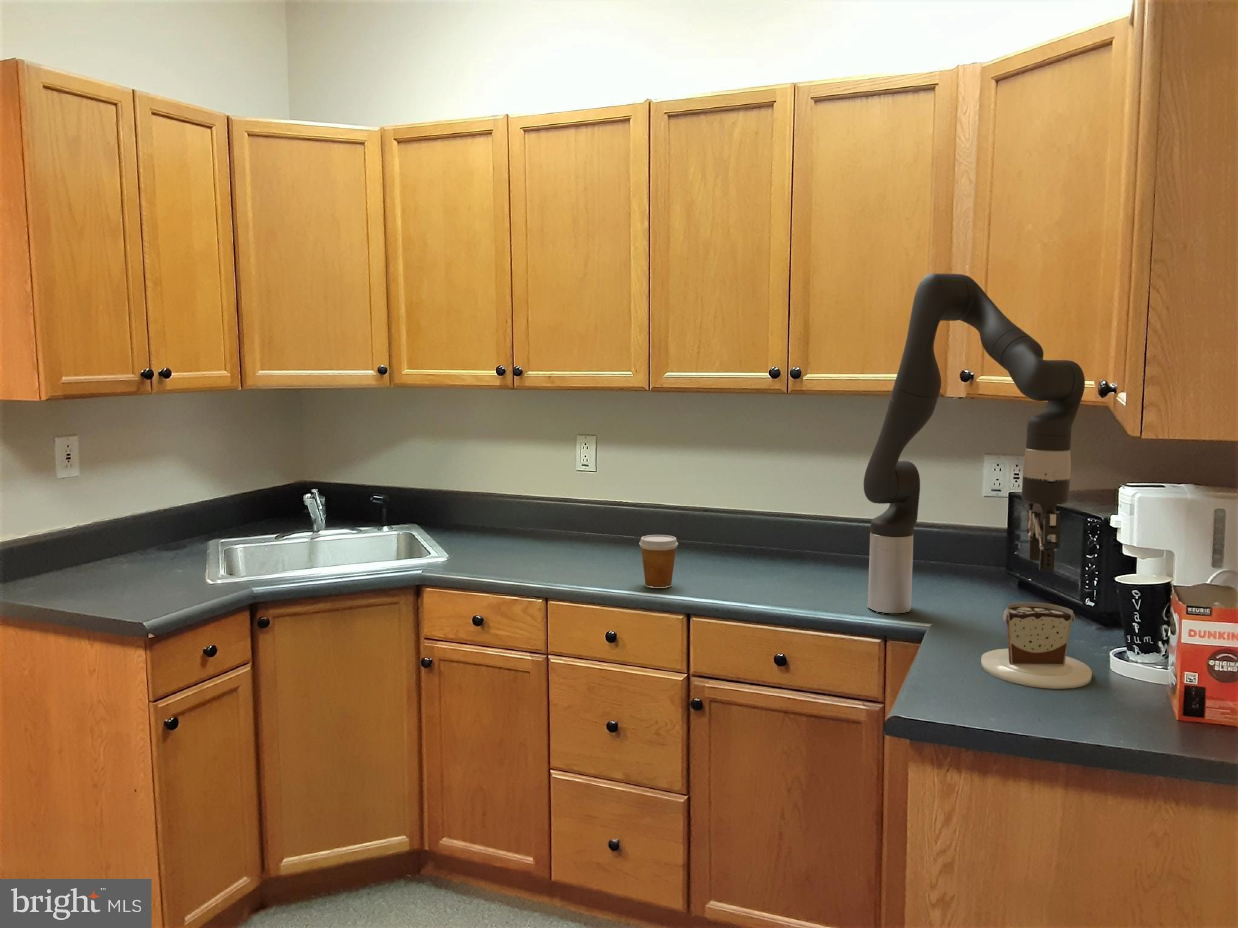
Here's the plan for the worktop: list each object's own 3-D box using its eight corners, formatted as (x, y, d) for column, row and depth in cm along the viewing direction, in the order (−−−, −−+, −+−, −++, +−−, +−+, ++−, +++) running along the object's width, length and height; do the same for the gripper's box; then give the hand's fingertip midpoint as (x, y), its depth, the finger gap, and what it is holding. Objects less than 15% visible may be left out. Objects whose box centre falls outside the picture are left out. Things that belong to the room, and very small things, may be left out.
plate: (973, 651, 174) (974, 644, 174) (1076, 658, 170) (1076, 651, 170) (989, 683, 157) (990, 676, 156) (1104, 692, 152) (1104, 685, 152)
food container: (1057, 654, 168) (1060, 601, 167) (1073, 665, 162) (1076, 610, 161) (989, 653, 168) (992, 601, 167) (1002, 664, 162) (1005, 610, 161)
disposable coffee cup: (683, 583, 226) (683, 536, 225) (669, 592, 218) (669, 543, 216) (648, 579, 230) (648, 533, 229) (632, 588, 222) (632, 539, 220)
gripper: (1015, 469, 167) (1010, 556, 169) (1031, 479, 153) (1026, 574, 155) (1059, 470, 165) (1054, 558, 167) (1080, 481, 151) (1074, 576, 153)
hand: (1040, 565), depth 161 cm, fingers open, 8 cm apart
